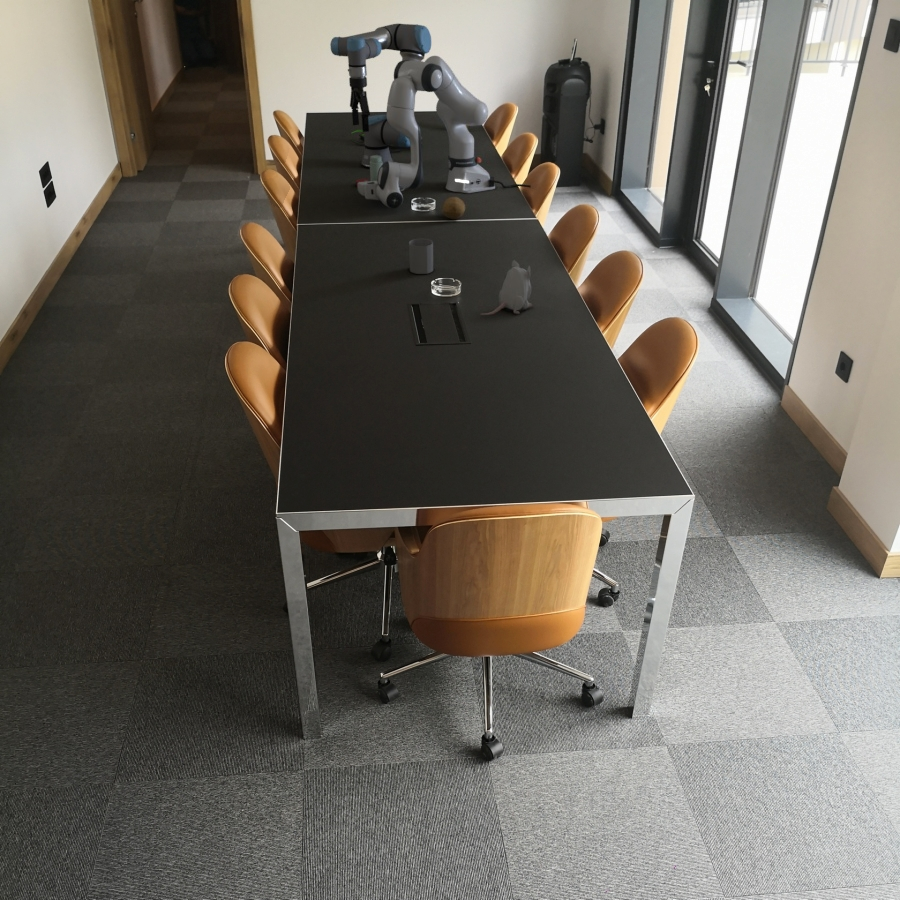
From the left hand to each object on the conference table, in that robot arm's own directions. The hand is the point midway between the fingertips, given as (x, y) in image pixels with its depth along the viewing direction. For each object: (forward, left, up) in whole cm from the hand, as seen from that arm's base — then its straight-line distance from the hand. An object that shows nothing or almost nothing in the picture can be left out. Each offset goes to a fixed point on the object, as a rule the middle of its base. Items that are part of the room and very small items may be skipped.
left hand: (360, 128), depth 384 cm
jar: (+9, +15, -25) cm, 31 cm away
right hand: (+9, +15, -19) cm, 26 cm away
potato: (+16, +61, -25) cm, 68 cm away
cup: (+71, +84, -25) cm, 113 cm away
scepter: (-68, -45, -25) cm, 85 cm away
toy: (+87, +129, -25) cm, 157 cm away
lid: (+1, 0, -23) cm, 23 cm away
